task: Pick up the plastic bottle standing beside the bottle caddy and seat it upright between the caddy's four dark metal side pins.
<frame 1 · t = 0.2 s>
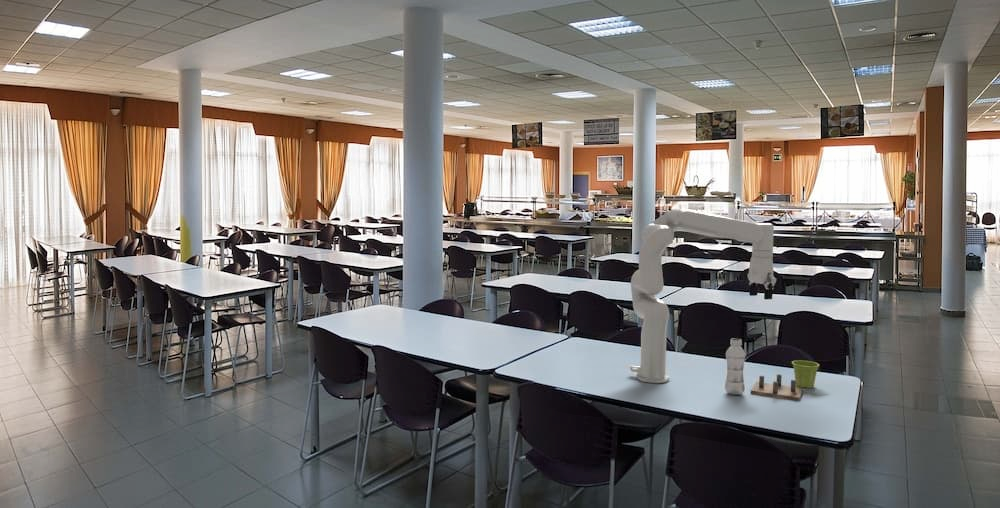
hand: (760, 297, 251), 31 cm above the table, tool pointing down, fingers open, 9 cm apart
plant pot: (804, 386, 238), on the table
plastic bottle: (734, 394, 228), on the table
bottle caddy: (776, 392, 230), on the table
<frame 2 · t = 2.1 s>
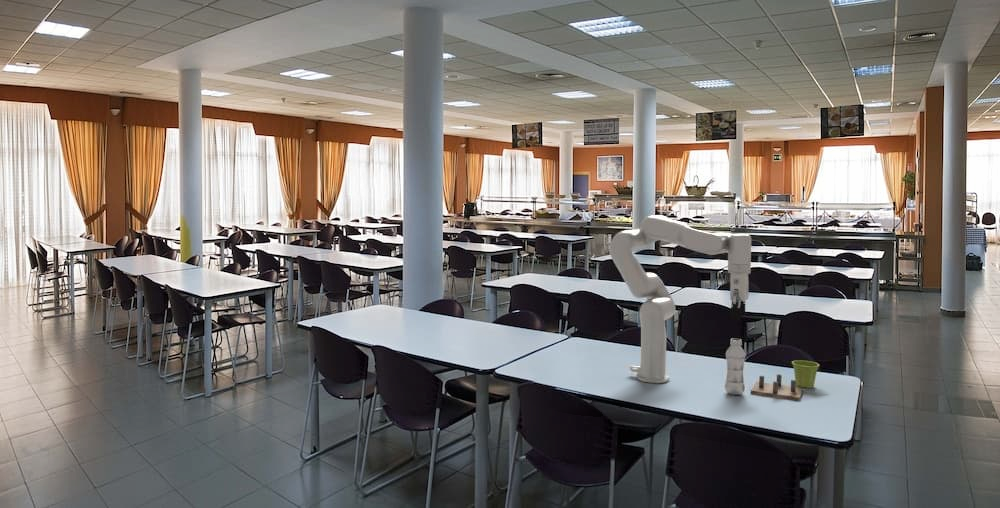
hand: (738, 316, 225), 28 cm above the table, tool pointing down, fingers open, 9 cm apart
nothing on the table moved.
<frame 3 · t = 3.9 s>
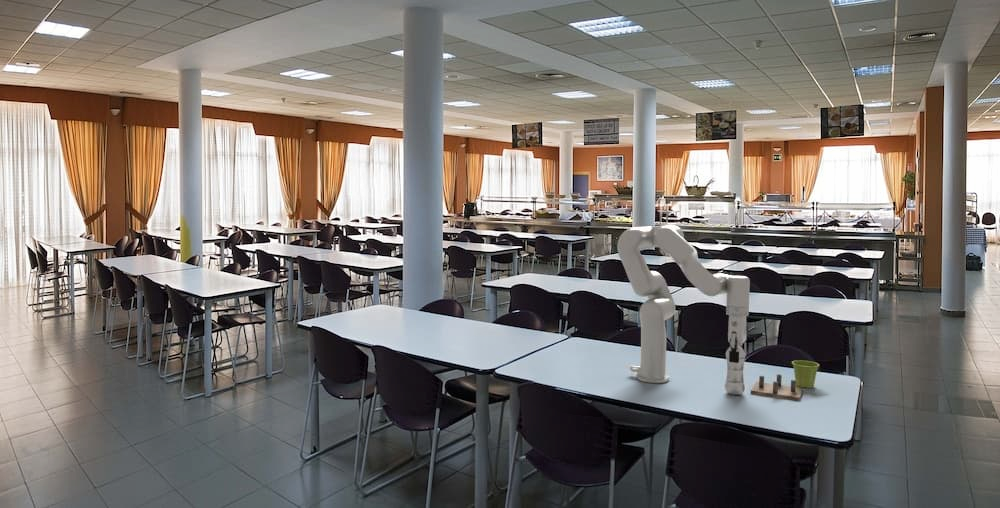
hand: (735, 359, 227), 13 cm above the table, tool pointing down, fingers closed on plastic bottle, 6 cm apart
plastic bottle: (734, 394, 228), on the table, touching gripper
everything else where it was.
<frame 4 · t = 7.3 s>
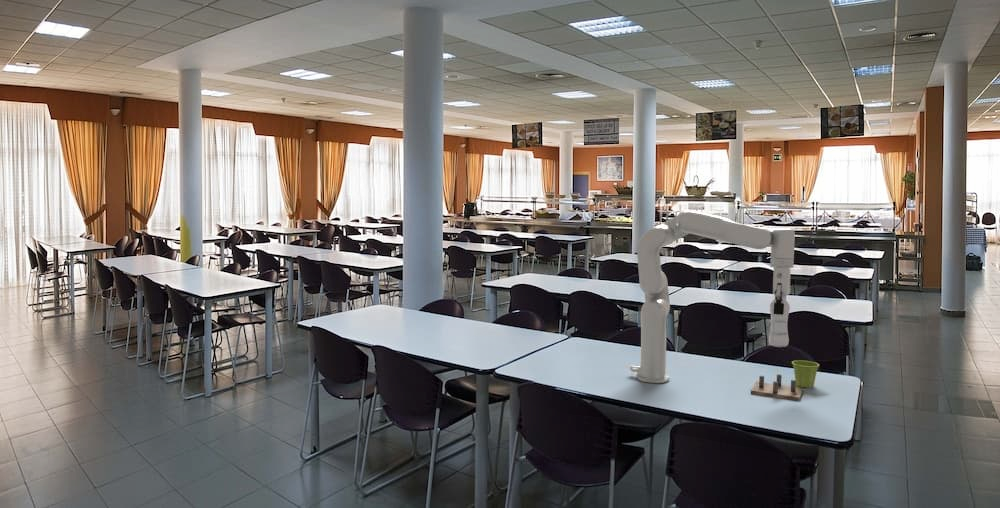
hand: (779, 312, 227), 29 cm above the table, tool pointing down, fingers closed on plastic bottle, 6 cm apart
plastic bottle: (778, 347, 228), point 17 cm above the table, touching gripper
everything else where it was.
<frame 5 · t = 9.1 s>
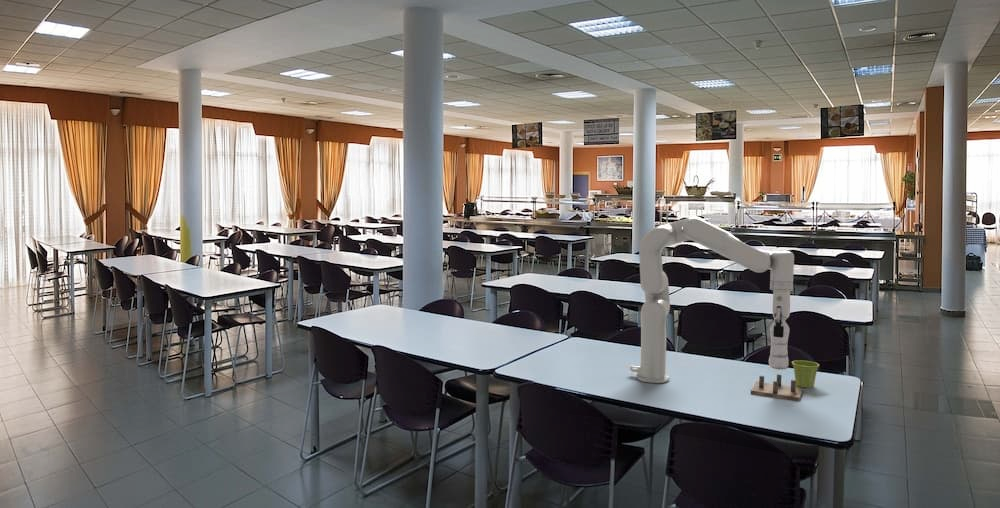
hand: (779, 334, 228), 21 cm above the table, tool pointing down, fingers closed on plastic bottle, 6 cm apart
plastic bottle: (778, 369, 229), point 8 cm above the table, touching gripper
everything else where it was.
when the fingers open (15 cm above the table, at t = 10.7 s): plastic bottle drops 1 cm, resting on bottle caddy.
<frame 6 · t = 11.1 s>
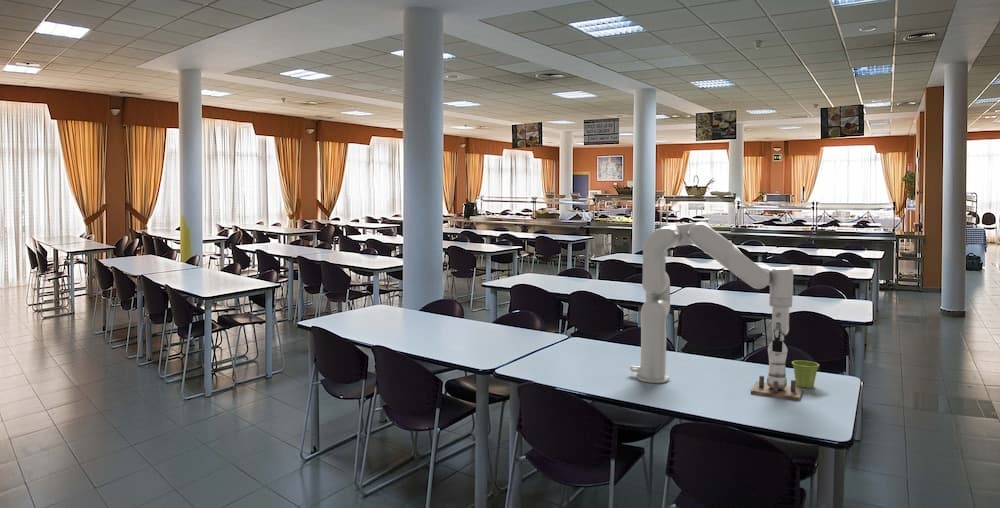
hand: (778, 348, 228), 16 cm above the table, tool pointing down, fingers open, 9 cm apart
plastic bottle: (776, 389, 230), point 1 cm above the table, touching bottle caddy
everything else where it was.
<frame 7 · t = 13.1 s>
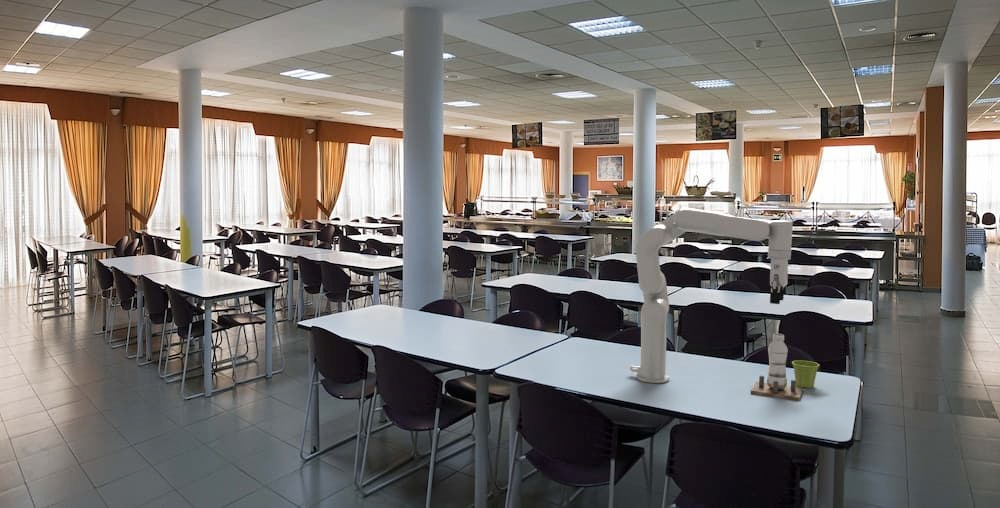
hand: (776, 301, 229), 33 cm above the table, tool pointing down, fingers open, 9 cm apart
nothing on the table moved.
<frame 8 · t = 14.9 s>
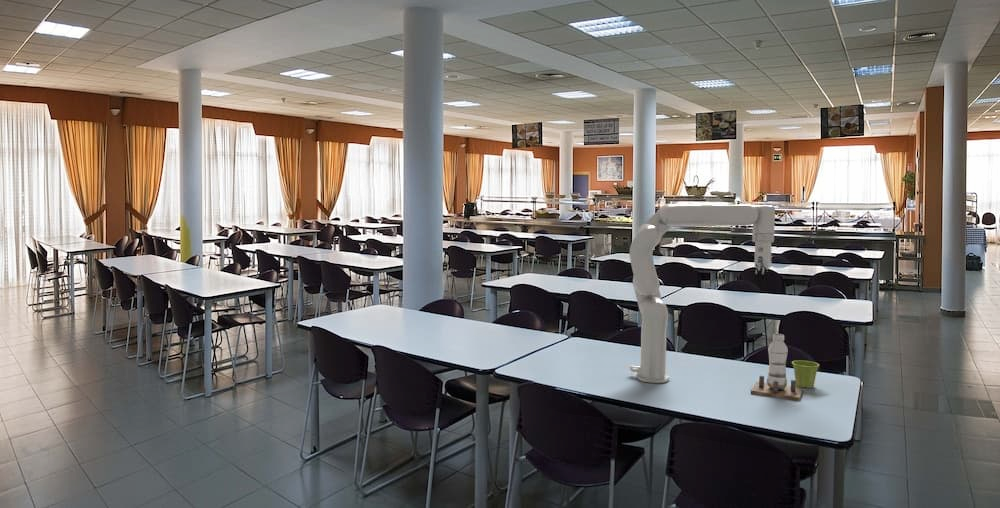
hand: (761, 283, 239), 38 cm above the table, tool pointing down, fingers open, 9 cm apart
nothing on the table moved.
at the end: plastic bottle 0.3 cm off-centre on the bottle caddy, point 1.0 cm above the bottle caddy's base; plastic bottle tilted 0°; the gripper is holding nothing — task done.
